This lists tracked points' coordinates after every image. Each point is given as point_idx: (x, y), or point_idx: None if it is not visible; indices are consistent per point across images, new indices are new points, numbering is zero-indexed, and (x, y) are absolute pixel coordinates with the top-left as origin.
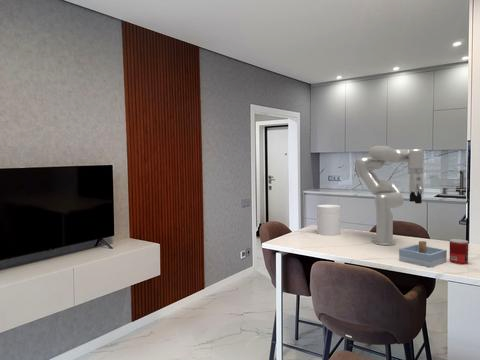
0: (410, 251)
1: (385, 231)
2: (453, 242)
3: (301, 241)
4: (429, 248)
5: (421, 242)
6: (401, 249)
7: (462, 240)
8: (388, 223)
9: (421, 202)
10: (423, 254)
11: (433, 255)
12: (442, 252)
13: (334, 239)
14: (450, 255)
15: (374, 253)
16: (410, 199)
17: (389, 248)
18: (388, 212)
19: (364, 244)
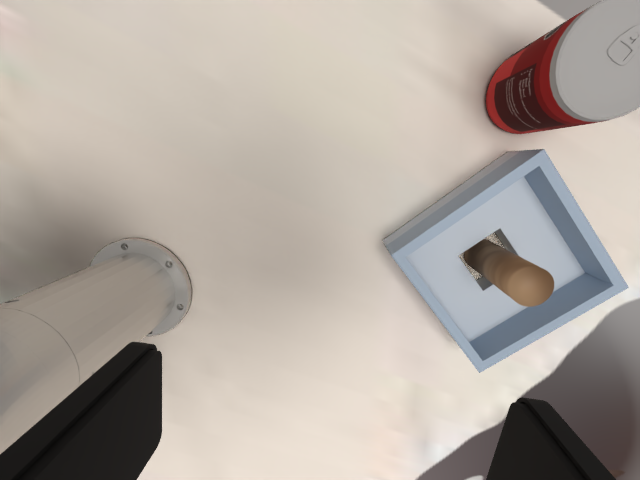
0: (531, 341)
1: (138, 329)
2: (621, 115)
3: None
4: (466, 213)
5: (546, 299)
6: (490, 366)
7: (600, 18)
8: (99, 341)
9: (552, 410)
10: (592, 305)
11: (608, 261)
12: (563, 187)
13: None
14: (534, 131)
15: (338, 390)
16: (137, 470)
17: (247, 301)
18: (18, 402)
19: (174, 377)
